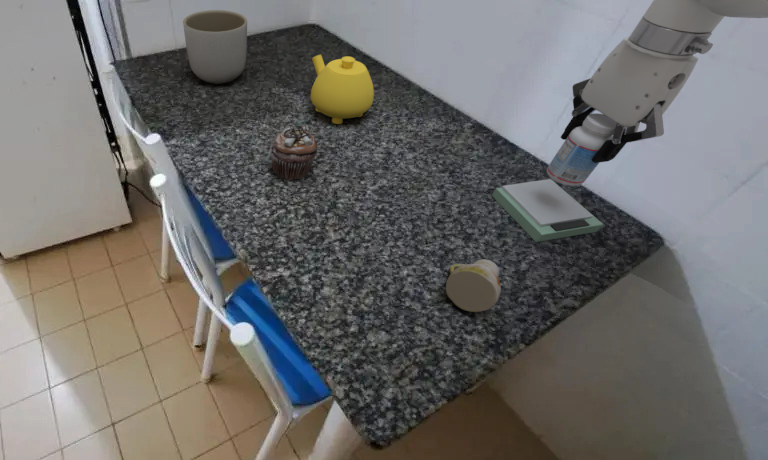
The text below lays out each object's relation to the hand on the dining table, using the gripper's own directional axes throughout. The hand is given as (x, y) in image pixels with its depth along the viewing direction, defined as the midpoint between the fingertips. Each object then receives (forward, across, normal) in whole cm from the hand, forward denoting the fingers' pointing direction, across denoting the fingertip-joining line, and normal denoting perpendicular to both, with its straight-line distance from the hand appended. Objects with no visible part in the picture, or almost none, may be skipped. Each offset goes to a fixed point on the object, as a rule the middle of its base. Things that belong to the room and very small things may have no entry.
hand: (584, 148), depth 66 cm
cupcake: (+14, +22, +44) cm, 51 cm away
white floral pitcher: (+15, -14, +24) cm, 32 cm away
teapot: (+14, +45, +26) cm, 54 cm away
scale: (+14, -1, 0) cm, 14 cm away
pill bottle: (+6, 0, 0) cm, 6 cm away
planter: (+14, +69, +53) cm, 88 cm away
